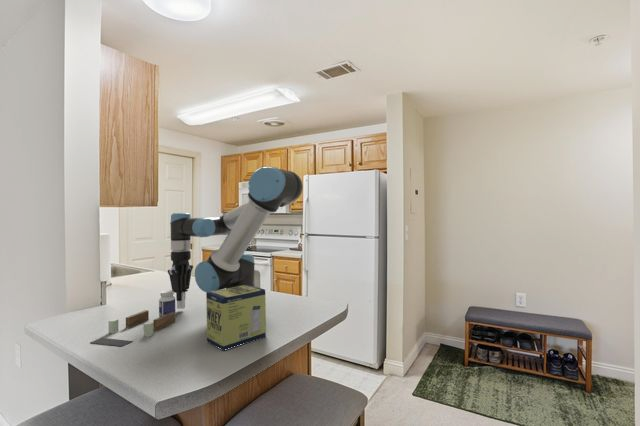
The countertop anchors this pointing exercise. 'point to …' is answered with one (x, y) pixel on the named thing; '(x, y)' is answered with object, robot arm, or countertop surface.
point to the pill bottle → (166, 303)
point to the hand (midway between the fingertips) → (181, 308)
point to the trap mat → (111, 342)
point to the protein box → (235, 316)
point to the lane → (144, 316)
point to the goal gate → (147, 327)
